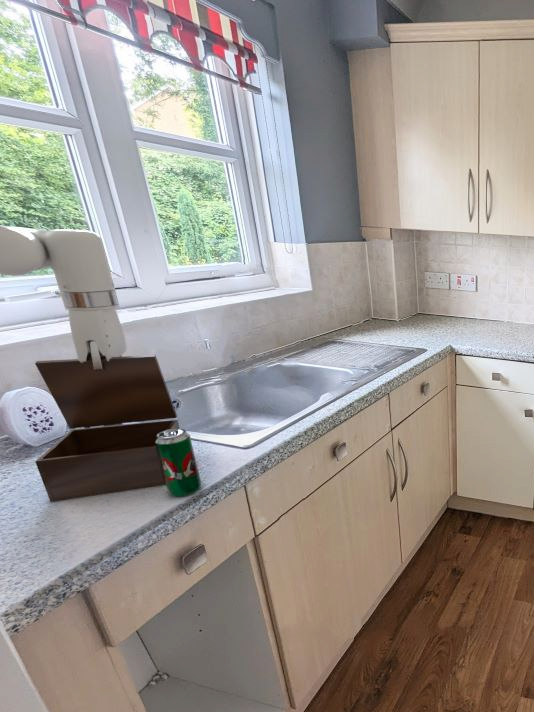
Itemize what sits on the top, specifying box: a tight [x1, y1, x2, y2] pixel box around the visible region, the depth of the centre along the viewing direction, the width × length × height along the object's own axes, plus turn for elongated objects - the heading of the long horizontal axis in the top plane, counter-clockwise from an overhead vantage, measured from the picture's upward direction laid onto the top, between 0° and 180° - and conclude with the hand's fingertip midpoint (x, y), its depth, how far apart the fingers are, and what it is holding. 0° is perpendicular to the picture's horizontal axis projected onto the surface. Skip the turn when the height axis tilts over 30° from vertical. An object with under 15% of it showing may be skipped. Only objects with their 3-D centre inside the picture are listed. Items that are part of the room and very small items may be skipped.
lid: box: [34, 354, 178, 430], centre depth 89 cm, size 15×17×1 cm
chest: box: [34, 418, 181, 502], centre depth 89 cm, size 14×17×8 cm
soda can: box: [155, 428, 202, 498], centre depth 83 cm, size 5×5×12 cm
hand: (117, 392), depth 91 cm, fingers closed
